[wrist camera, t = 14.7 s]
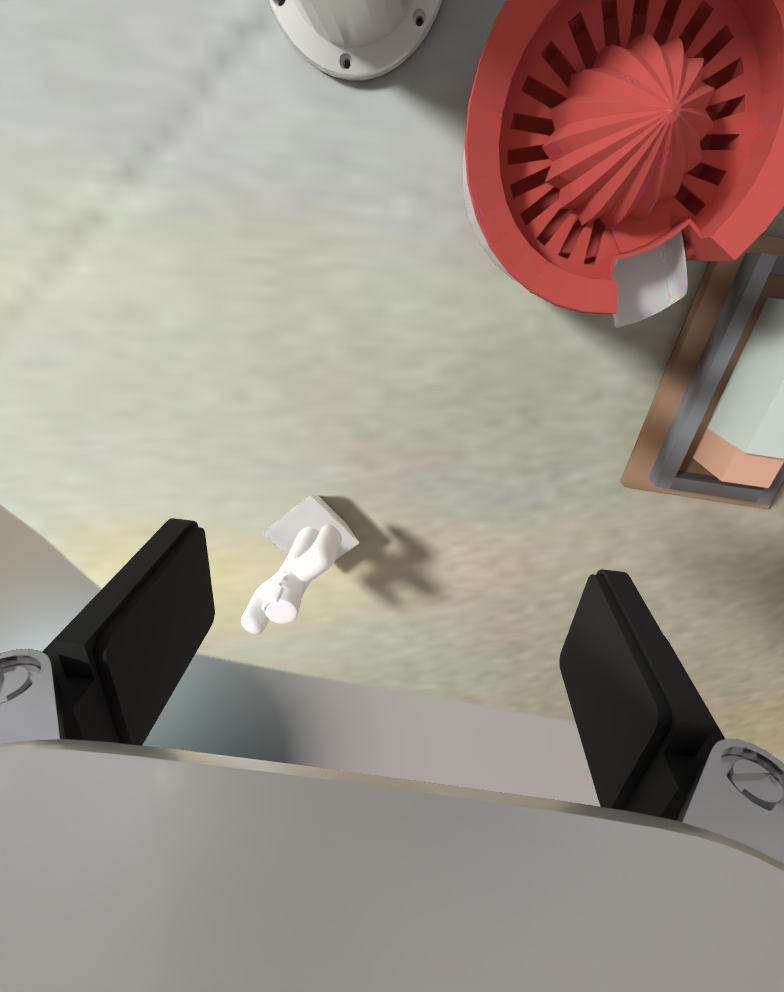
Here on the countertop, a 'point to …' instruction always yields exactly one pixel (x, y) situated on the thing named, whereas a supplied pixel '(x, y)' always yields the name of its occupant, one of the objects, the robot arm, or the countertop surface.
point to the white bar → (751, 409)
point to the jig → (707, 379)
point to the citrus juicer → (624, 145)
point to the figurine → (298, 560)
